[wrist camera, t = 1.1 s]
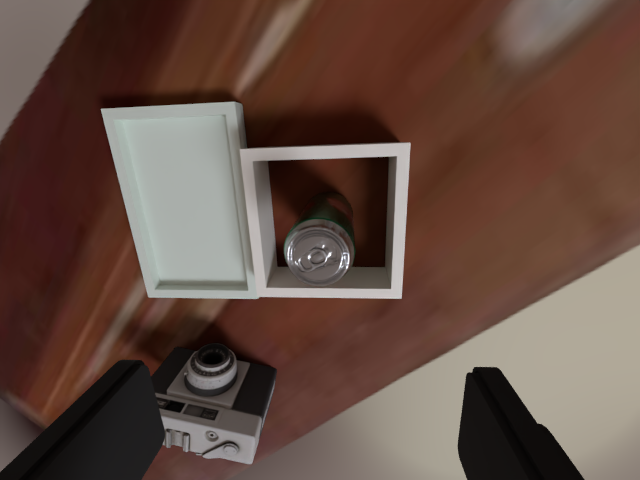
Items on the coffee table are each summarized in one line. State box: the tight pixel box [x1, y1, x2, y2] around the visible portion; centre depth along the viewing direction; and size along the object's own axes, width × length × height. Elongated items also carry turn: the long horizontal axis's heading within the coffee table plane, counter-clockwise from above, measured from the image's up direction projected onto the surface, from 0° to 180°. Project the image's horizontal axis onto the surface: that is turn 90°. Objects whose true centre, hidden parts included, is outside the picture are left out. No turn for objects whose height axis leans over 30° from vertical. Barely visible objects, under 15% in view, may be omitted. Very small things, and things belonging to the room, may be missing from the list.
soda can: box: [284, 192, 355, 286], centre depth 26 cm, size 5×5×12 cm
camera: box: [151, 343, 277, 464], centre depth 34 cm, size 14×8×10 cm, turn 79°
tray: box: [101, 102, 259, 299], centre depth 31 cm, size 20×13×2 cm, turn 2°
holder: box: [240, 142, 410, 299], centre depth 29 cm, size 14×14×5 cm
